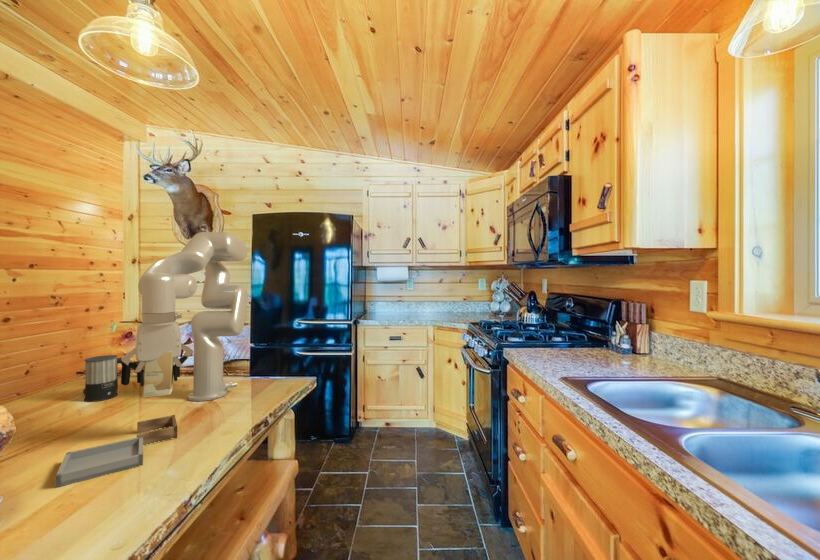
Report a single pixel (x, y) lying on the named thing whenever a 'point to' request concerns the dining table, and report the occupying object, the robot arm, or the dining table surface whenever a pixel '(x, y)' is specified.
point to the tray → (100, 461)
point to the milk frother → (103, 377)
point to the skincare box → (159, 376)
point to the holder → (157, 434)
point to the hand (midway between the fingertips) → (159, 381)
